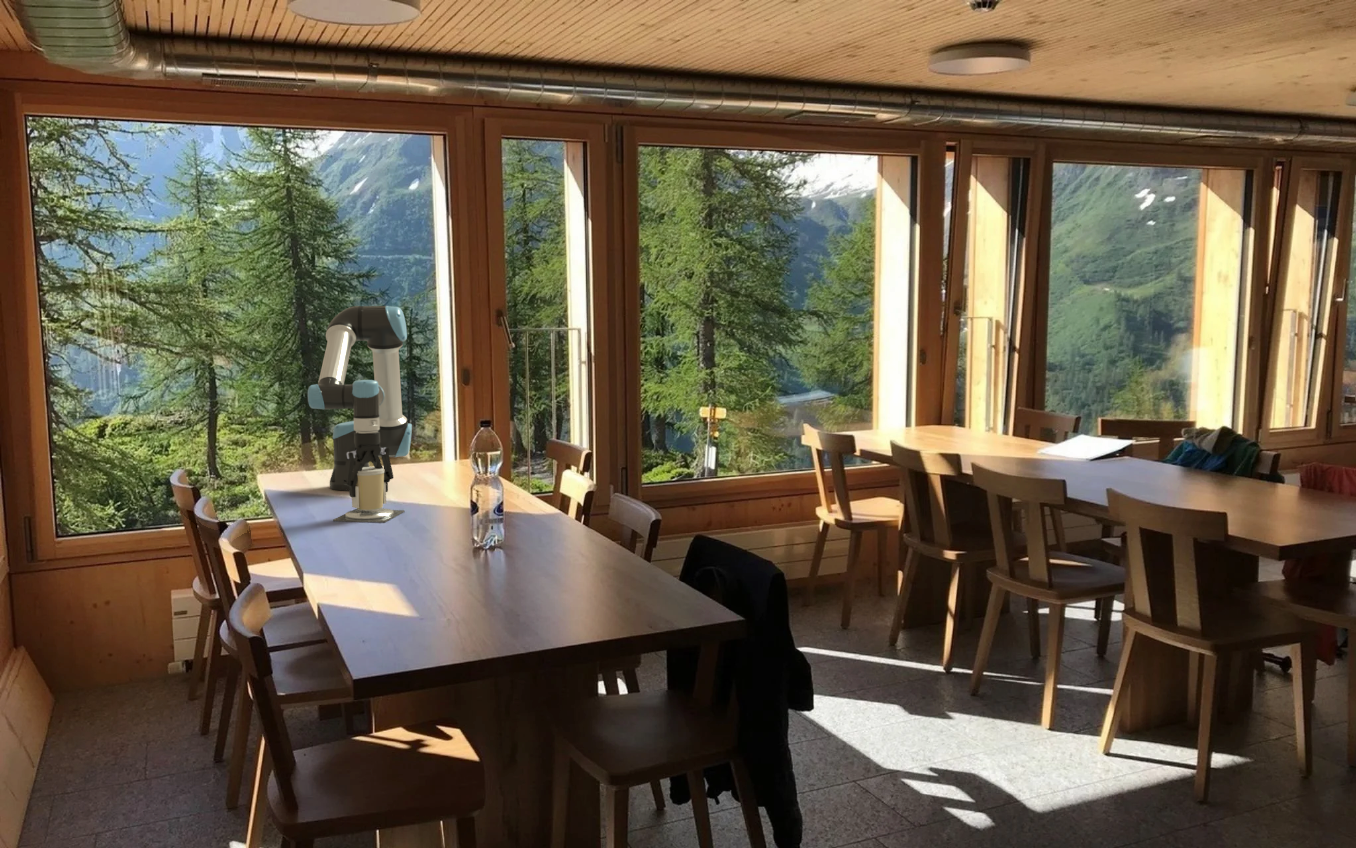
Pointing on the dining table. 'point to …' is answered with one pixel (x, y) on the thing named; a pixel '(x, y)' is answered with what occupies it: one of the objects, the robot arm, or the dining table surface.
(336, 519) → the flange plate
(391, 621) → the dining table surface
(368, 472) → the coffee cup
